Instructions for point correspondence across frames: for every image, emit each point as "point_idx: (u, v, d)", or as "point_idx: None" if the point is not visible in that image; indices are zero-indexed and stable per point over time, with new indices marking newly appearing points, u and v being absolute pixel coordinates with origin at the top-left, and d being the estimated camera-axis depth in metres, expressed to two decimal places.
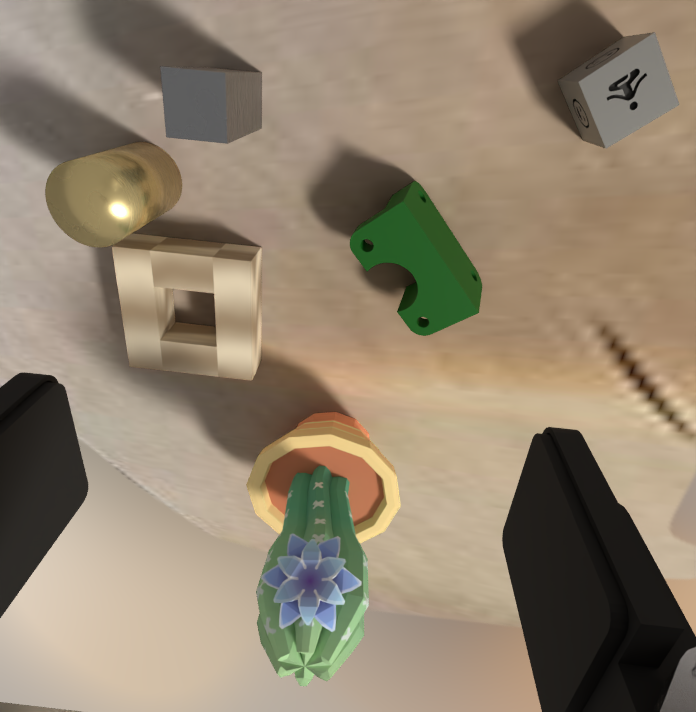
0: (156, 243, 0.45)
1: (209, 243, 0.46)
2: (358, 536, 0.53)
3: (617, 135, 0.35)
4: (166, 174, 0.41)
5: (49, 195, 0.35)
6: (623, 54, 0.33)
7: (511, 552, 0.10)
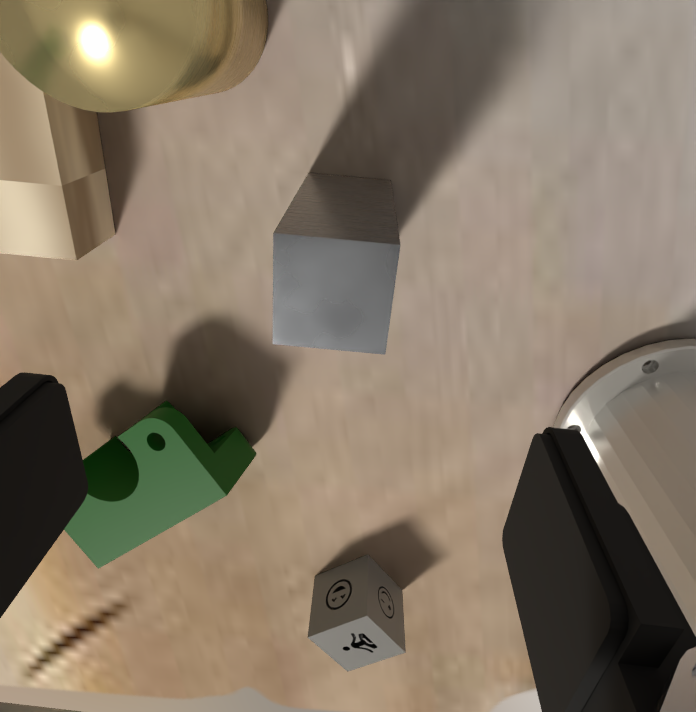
0: None
1: (95, 140, 0.24)
2: None
3: (320, 643, 0.36)
4: (209, 93, 0.21)
5: None
6: (389, 638, 0.35)
7: (511, 552, 0.10)
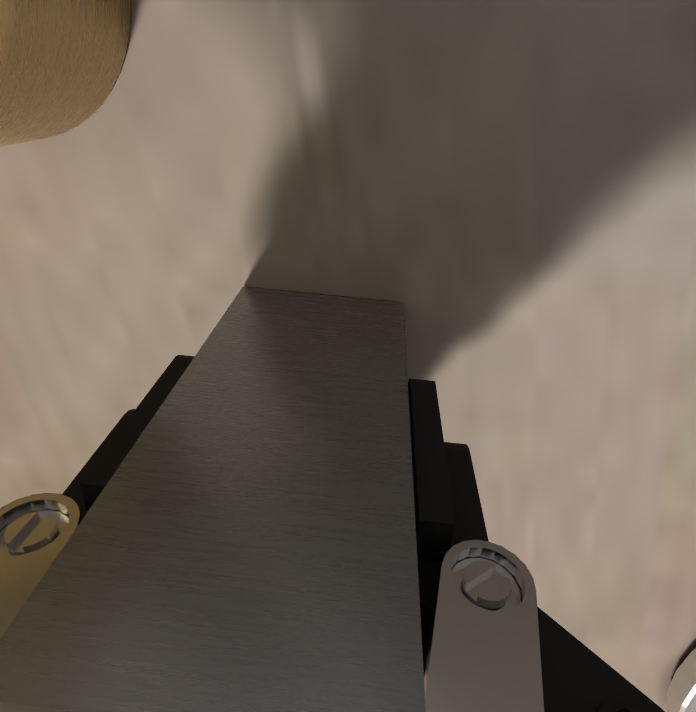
0: None
1: None
2: None
3: None
4: None
5: None
6: None
7: None
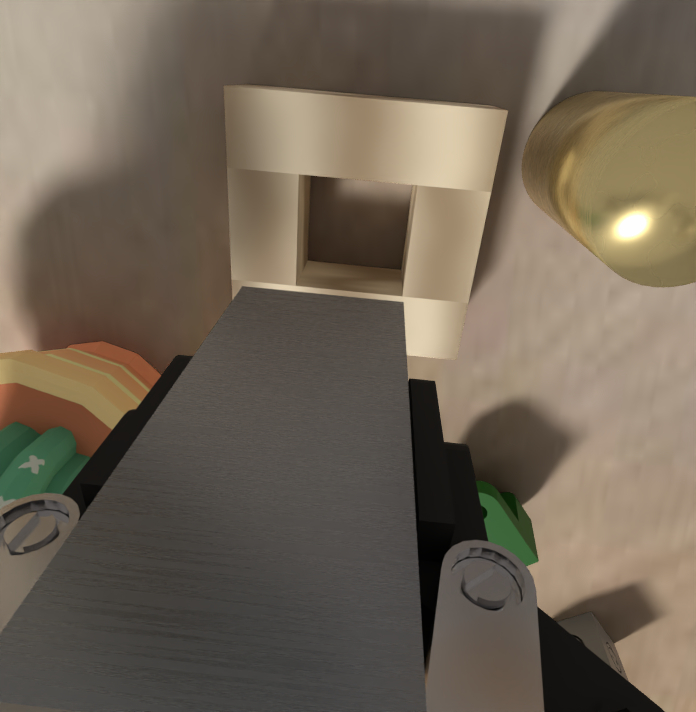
0: None
1: None
2: None
3: None
4: None
5: None
6: None
7: None
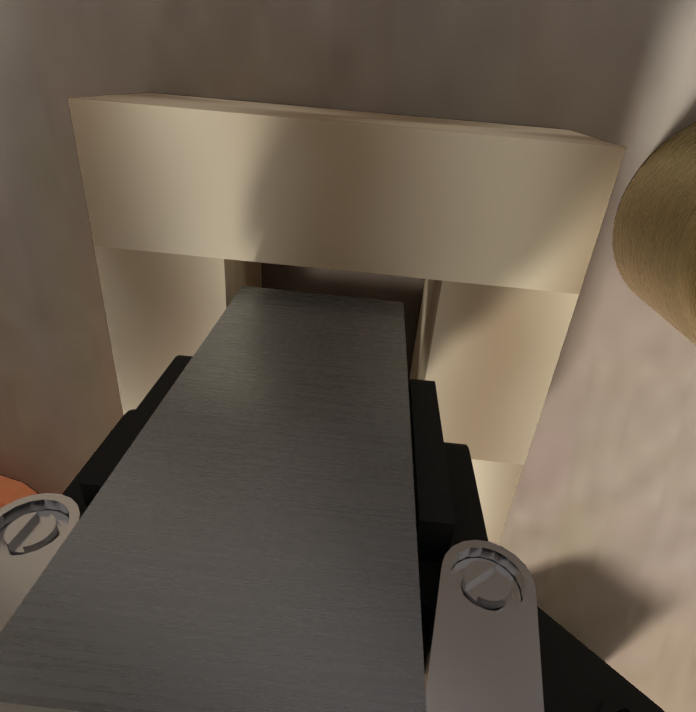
0: None
1: None
2: None
3: None
4: None
5: None
6: None
7: None
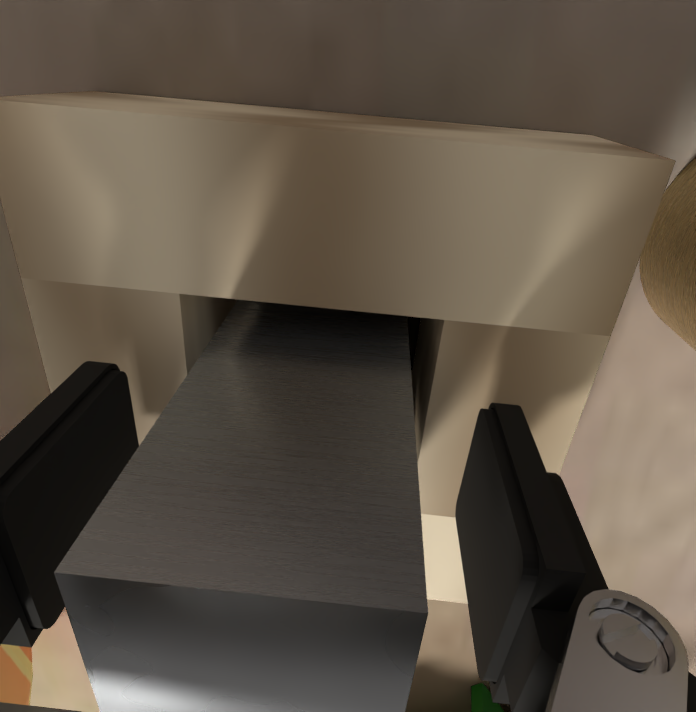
0: None
1: None
2: None
3: None
4: None
5: None
6: None
7: (461, 522, 0.11)
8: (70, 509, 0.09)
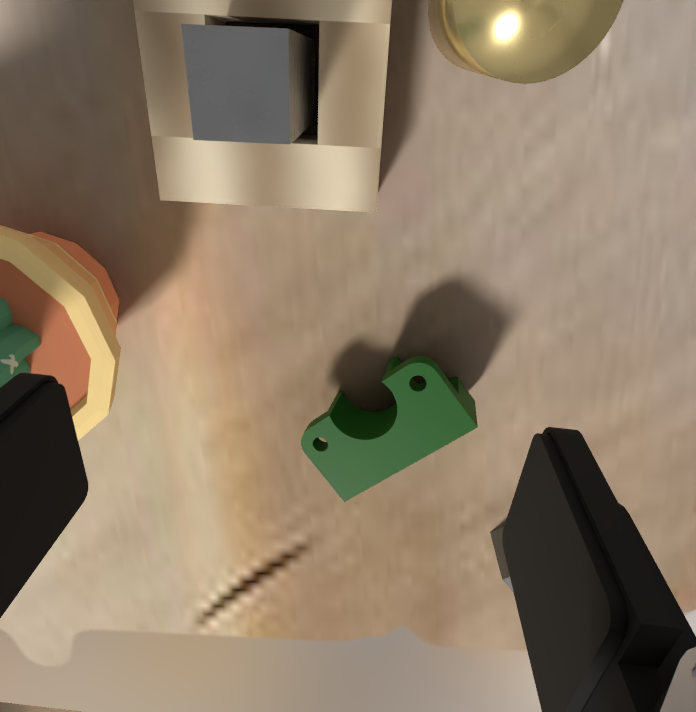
0: None
1: None
2: None
3: None
4: None
5: None
6: None
7: (511, 552, 0.10)
8: None
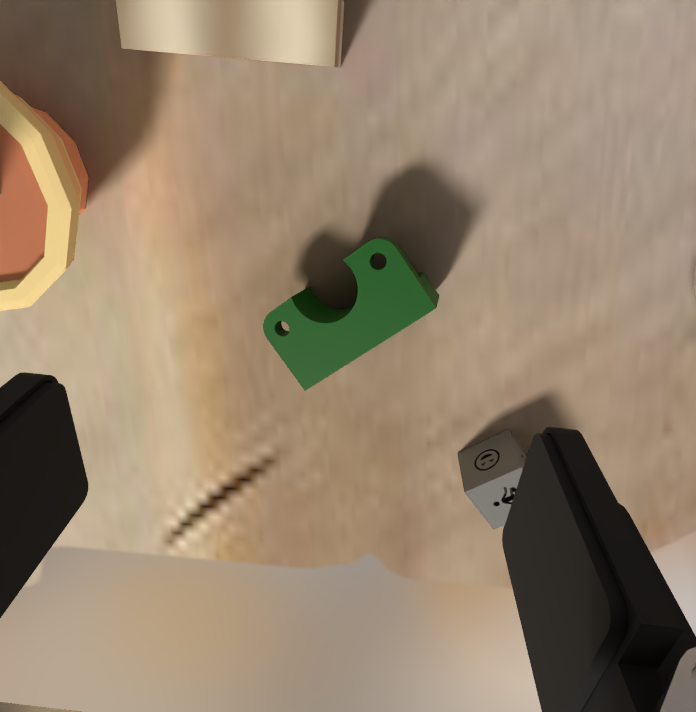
0: None
1: None
2: None
3: (474, 498, 0.42)
4: None
5: None
6: None
7: (511, 552, 0.10)
8: None
